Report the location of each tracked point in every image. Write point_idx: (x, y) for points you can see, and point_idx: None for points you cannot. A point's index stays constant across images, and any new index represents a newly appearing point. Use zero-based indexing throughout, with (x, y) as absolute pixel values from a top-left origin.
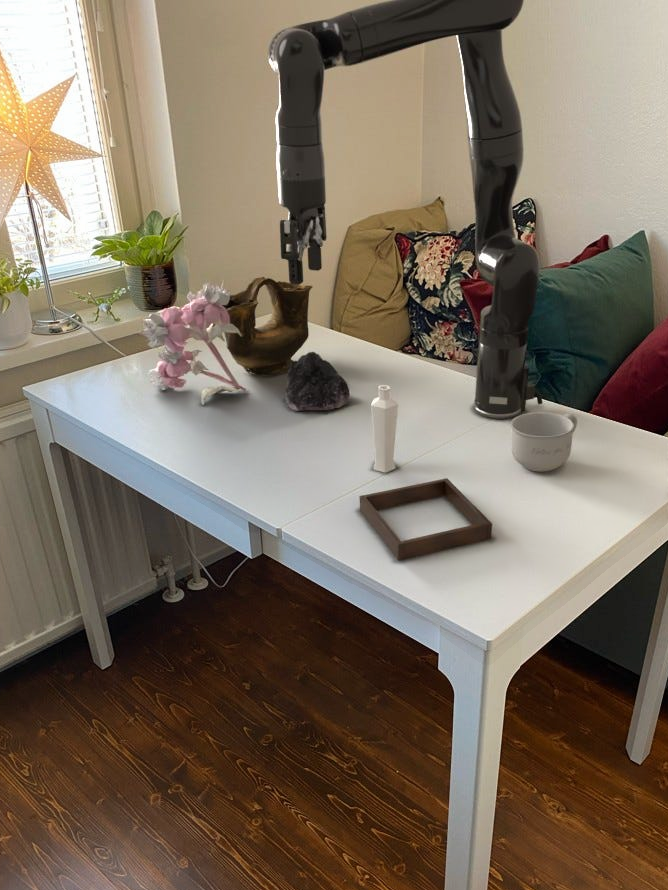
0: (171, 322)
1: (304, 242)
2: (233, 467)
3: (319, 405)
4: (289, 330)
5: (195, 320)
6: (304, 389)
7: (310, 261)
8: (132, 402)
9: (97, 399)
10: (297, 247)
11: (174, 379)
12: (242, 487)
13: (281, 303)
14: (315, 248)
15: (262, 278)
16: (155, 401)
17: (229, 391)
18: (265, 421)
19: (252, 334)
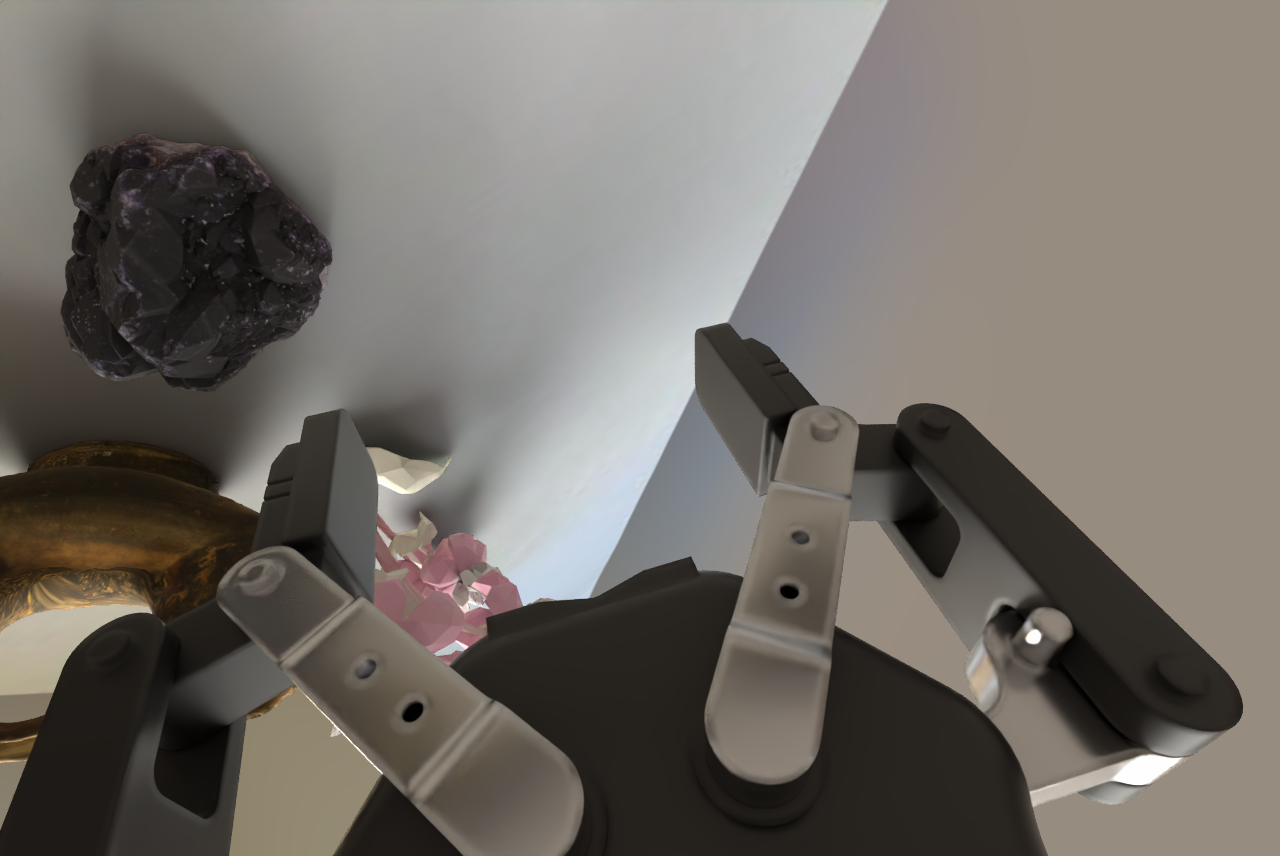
0: None
1: (846, 515)
2: (690, 213)
3: (281, 194)
4: (5, 539)
5: None
6: (292, 266)
7: (369, 504)
8: (518, 547)
9: (538, 586)
10: (954, 480)
11: (421, 556)
12: (769, 135)
13: None
14: (340, 560)
15: (2, 753)
16: (491, 526)
17: (382, 449)
18: (439, 293)
19: (202, 563)
